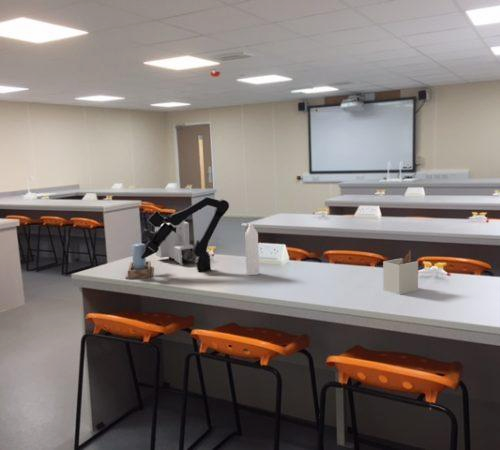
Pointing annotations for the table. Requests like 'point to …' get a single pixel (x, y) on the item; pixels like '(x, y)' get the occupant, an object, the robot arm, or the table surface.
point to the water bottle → (251, 250)
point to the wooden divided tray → (140, 271)
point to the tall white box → (400, 275)
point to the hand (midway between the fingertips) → (142, 256)
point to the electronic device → (177, 245)
